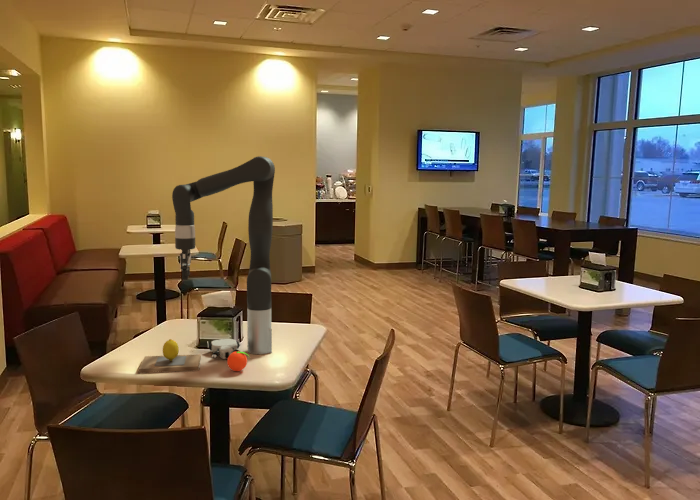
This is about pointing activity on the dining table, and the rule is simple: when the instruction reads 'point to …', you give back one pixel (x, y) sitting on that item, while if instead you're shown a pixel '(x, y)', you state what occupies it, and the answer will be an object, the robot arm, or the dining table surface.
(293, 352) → the dining table surface
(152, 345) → the dining table surface
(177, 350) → the lemon
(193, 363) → the serving board
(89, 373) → the dining table surface
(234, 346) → the robot toy
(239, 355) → the clementine
